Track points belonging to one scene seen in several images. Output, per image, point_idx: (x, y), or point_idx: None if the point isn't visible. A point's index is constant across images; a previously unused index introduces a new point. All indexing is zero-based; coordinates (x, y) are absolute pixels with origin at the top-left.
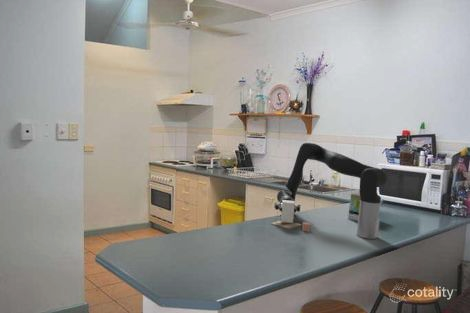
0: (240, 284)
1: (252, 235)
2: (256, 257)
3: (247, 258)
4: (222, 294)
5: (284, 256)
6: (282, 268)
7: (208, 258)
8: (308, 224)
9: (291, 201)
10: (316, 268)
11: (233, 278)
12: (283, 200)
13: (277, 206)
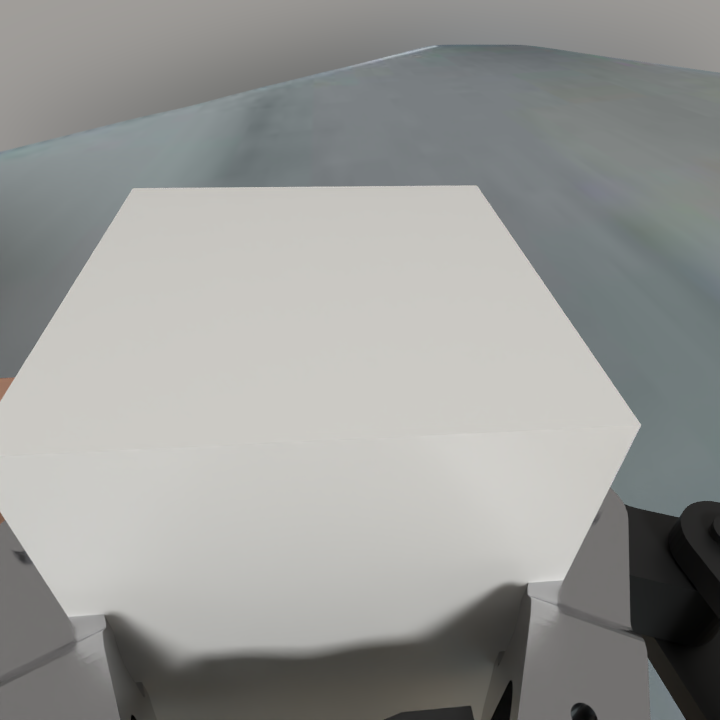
0: (416, 61)
1: (551, 234)
2: (424, 112)
3: (450, 107)
4: (435, 50)
5: (325, 125)
6: (329, 91)
7: (557, 97)
8: (11, 379)
9: (178, 317)
10: (219, 99)
11: (440, 67)
12: (535, 338)
13: (662, 520)
